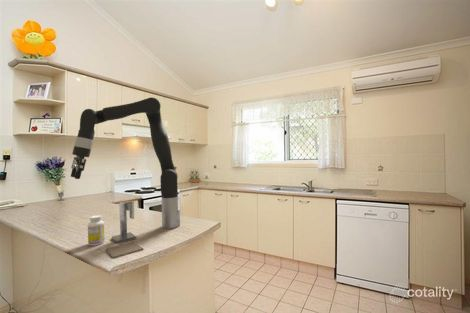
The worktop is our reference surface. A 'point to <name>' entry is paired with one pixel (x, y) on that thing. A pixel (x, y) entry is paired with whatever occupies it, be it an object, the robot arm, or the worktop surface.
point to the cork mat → (123, 249)
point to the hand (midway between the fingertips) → (74, 177)
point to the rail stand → (124, 227)
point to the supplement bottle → (95, 231)
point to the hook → (121, 206)
